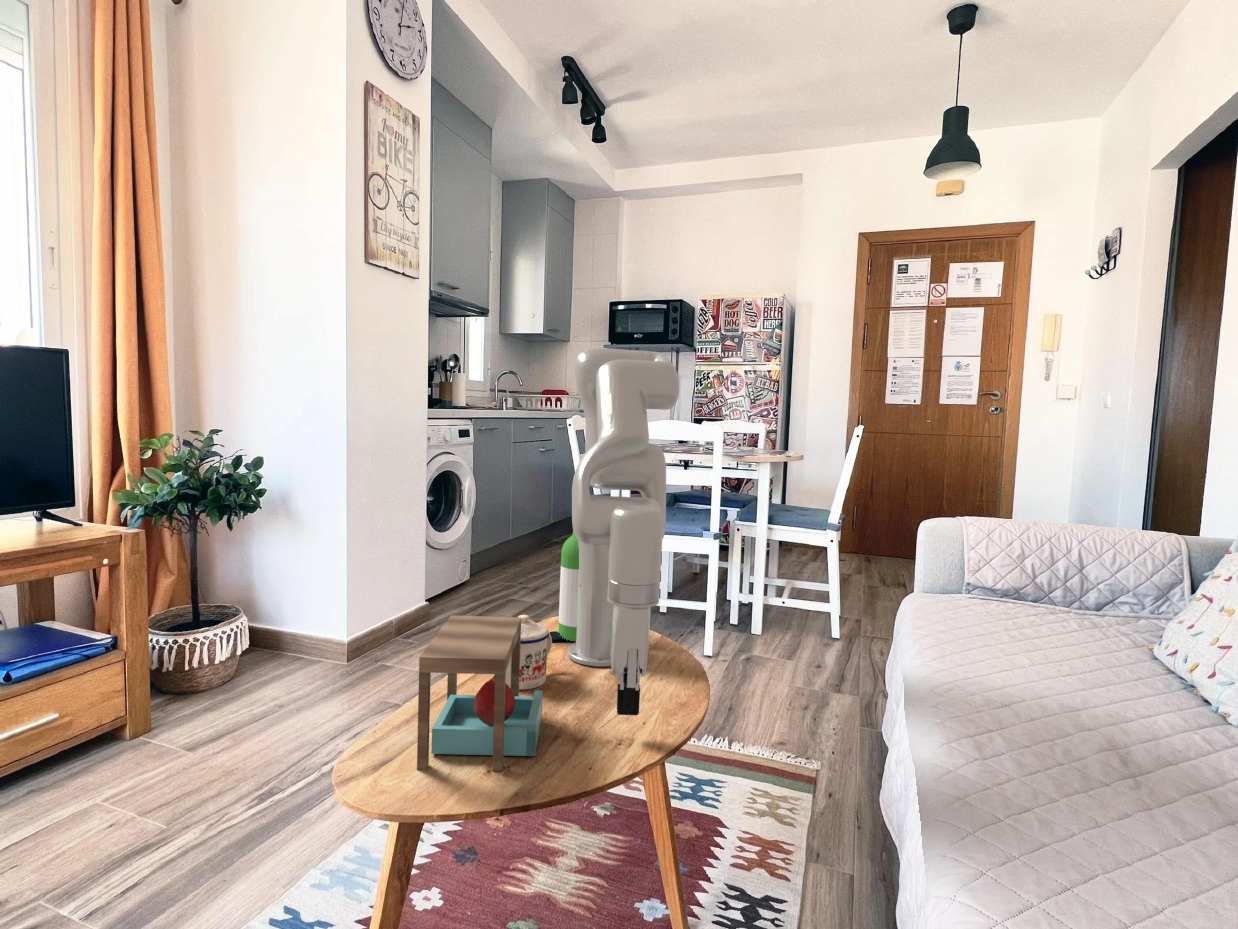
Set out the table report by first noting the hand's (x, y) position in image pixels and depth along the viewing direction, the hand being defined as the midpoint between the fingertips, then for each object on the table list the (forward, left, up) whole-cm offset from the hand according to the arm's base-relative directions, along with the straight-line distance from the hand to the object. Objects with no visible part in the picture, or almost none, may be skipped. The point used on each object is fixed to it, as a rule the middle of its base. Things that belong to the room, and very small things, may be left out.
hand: (627, 712), depth 96 cm
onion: (+1, -19, -3) cm, 20 cm away
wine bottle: (-44, -9, -4) cm, 45 cm away
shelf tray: (+1, -20, -4) cm, 20 cm away
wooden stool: (+1, -22, -4) cm, 23 cm away
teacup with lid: (-21, -17, -4) cm, 27 cm away
